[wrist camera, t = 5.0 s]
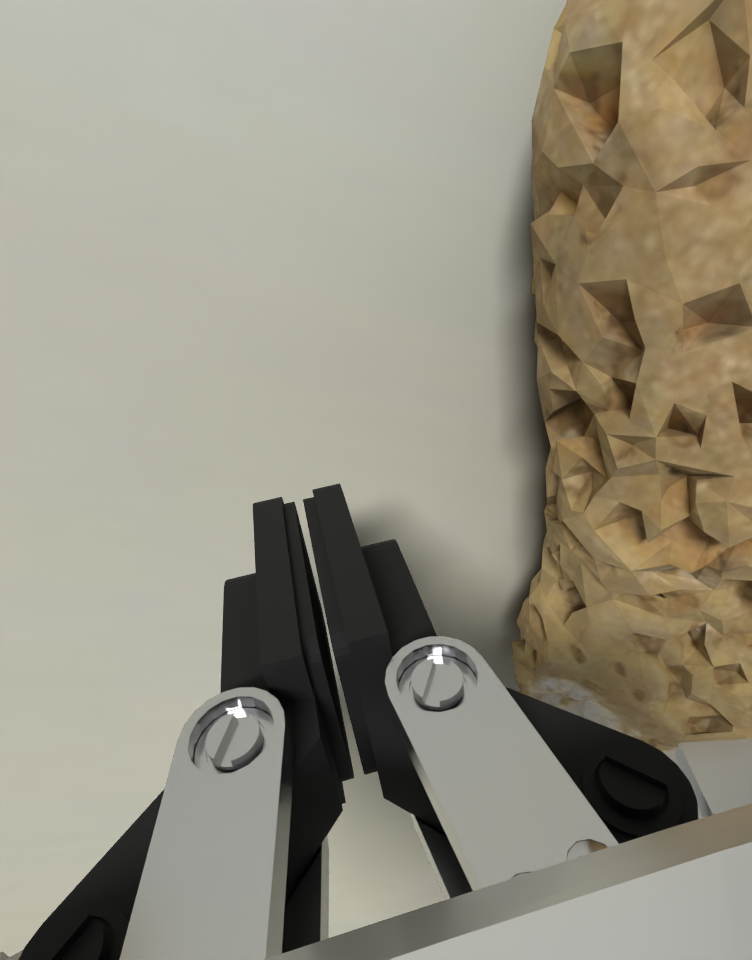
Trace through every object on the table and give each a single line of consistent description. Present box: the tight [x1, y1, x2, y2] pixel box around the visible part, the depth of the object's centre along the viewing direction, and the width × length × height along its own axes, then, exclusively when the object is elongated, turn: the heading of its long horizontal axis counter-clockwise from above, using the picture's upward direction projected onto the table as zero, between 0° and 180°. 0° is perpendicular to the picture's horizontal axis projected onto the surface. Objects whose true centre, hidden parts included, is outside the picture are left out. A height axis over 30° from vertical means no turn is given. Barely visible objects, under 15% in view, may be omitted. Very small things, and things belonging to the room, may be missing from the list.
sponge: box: [512, 0, 752, 751], centre depth 12 cm, size 13×8×20 cm
